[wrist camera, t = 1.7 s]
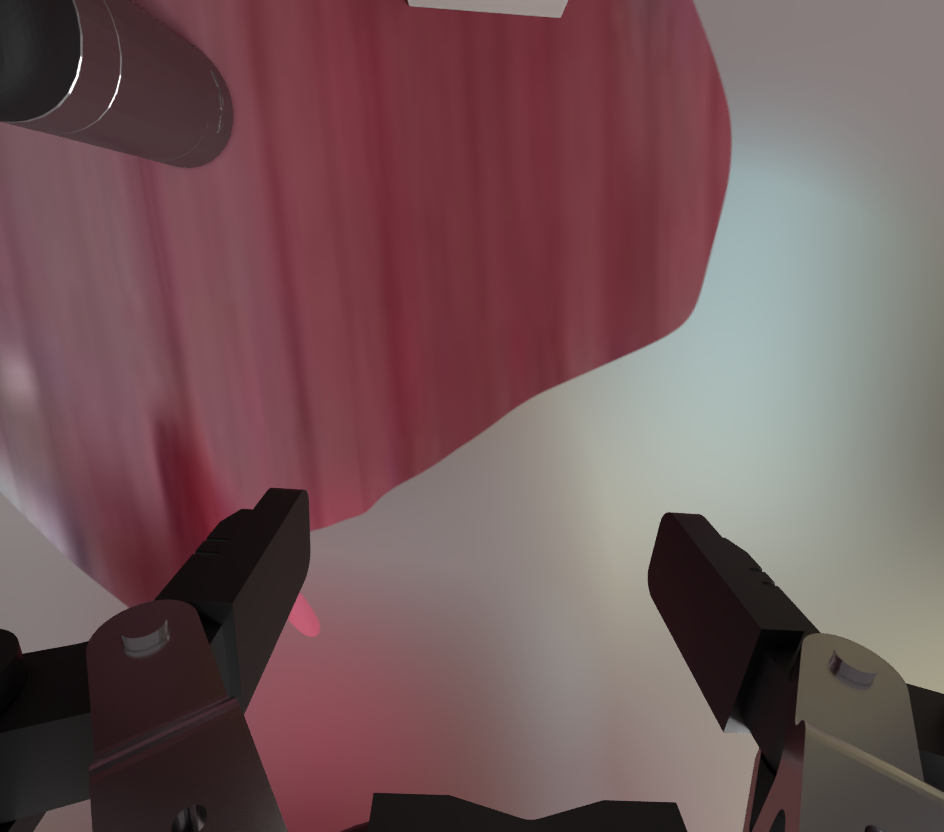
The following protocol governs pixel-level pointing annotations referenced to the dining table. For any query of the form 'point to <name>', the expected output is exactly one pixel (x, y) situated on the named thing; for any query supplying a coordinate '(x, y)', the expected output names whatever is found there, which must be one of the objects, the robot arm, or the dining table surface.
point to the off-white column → (499, 6)
